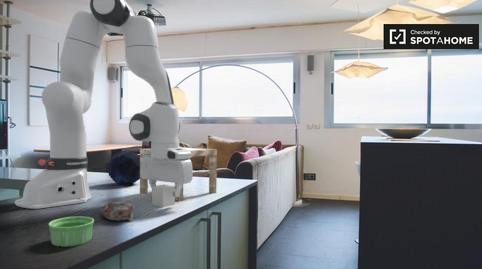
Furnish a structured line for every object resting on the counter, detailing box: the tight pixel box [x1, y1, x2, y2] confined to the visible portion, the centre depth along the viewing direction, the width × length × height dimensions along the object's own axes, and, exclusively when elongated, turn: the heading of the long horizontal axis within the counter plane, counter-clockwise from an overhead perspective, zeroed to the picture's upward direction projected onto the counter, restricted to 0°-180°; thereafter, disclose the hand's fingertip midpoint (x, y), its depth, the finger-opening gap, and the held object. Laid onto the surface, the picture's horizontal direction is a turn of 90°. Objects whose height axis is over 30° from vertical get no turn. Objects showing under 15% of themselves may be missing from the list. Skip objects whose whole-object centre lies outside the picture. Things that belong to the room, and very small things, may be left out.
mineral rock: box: [100, 199, 135, 222], centre depth 99 cm, size 15×8×4 cm, turn 25°
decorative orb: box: [107, 150, 140, 186], centre depth 153 cm, size 14×15×15 cm
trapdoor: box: [184, 147, 207, 151], centre depth 135 cm, size 14×14×1 cm
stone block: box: [151, 184, 176, 208], centre depth 115 cm, size 5×5×6 cm
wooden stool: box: [139, 146, 218, 202], centre depth 135 cm, size 20×20×16 cm
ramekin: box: [48, 215, 95, 248], centre depth 79 cm, size 9×9×4 cm
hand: (165, 195), depth 116 cm, fingers open, 8 cm apart
